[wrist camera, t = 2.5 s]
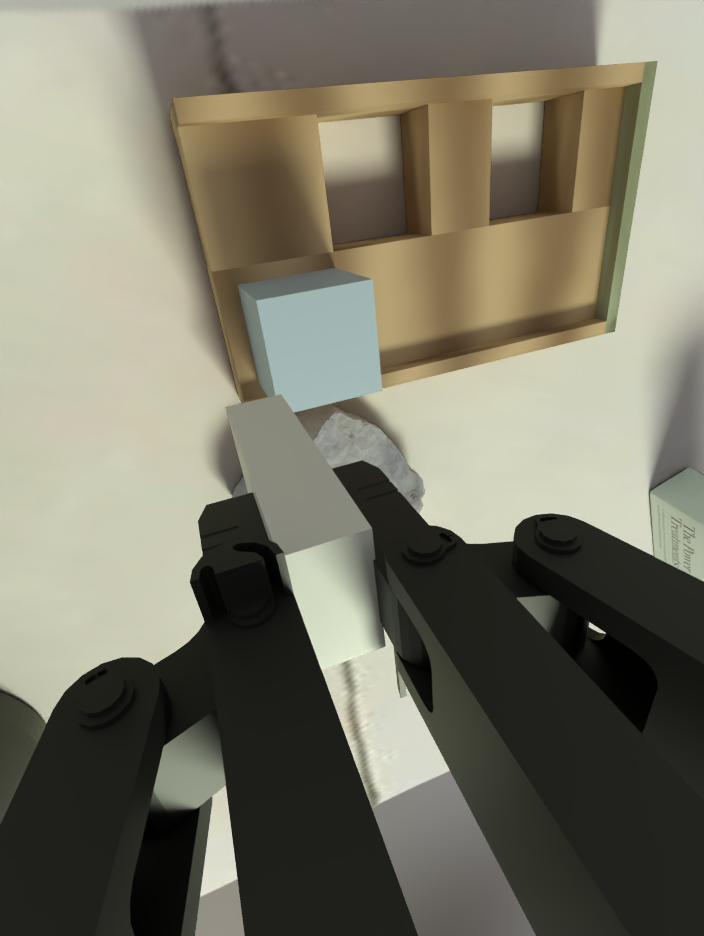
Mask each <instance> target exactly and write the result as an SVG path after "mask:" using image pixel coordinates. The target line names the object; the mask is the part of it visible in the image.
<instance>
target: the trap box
mask: <svg viewBox="0 0 704 936" xmlns="http://www.w3.org/2000/svg"><path fill="white" fill-rule="evenodd" d="M656 67H657V61H652V62H639V63H626V64H613V65H600V66H587V67H574V68H561V69H547V70H534V71H521V72H508V73H495V74H482V75H469V76H456V77H442V78H429V79H416V80H403V81H390V82H377V83H364V84H351V85H337V86H324V87H311V88H298V89H285V90H272V91H259V92H246V93H233V94H219V95H206V96H193V97H180V98H173V99H172V105H171V110H170V119H171V124H172V128H173V132H174V136H175V140H176V144H177V148H178V152H179V156H180V160H181V164H182V168H183V172H184V176H185V180H186V185H187V189H188V193H189V197H190V201H191V205H192V209H193V213H194V217H195V221H196V225H197V229H198V233H199V237H200V241H201V246H202V250H203V254H204V258H205V262H206V266H207V270H208V274H209V278H210V282H211V286H212V290H213V294H214V298H215V302H216V307H217V311H218V315H219V319H220V323H221V327H222V331H223V335H224V339H225V343H226V347H227V351H228V355H229V359H230V363H231V368H232V372H233V376H234V380H235V384H236V388H237V392H238V396H239V398H240V401H241V403H245V402H250V401H254V400H258V399H263V398H267V395H266V393H265V392H264V390H263V389H262V387H261V385H260V384H259V381H258V376H257V371H256V367H255V362H254V358H253V353H252V349H251V344H250V340H249V335H248V331H247V326H246V321H245V317H244V312H243V308H242V303H241V299H240V294H239V290H238V285H239V284H245V283H251V282H257V281H262V280H268V279H274V278H279V277H285V276H291V275H297V274H302V273H308V272H314V271H320V270H325V269H331V268H338V269H341V270H344V271H347V272H351V273H354V274H357V275H361V276H364V277H367V278H370V279H373V288H374V299H375V311H376V323H377V334H378V346H379V357H380V369H381V380H382V388H386V387H390V386H394V385H398V384H402V383H406V382H411V381H415V380H419V379H423V378H427V377H431V376H435V375H439V374H443V373H447V372H451V371H455V370H459V369H463V368H468V367H472V366H476V365H480V364H484V363H488V362H492V361H496V360H500V359H504V358H508V357H512V356H516V355H520V354H525V353H529V352H533V351H537V350H541V349H545V348H549V347H553V346H557V345H561V344H565V343H569V342H573V341H578V340H582V339H586V338H590V337H594V336H598V335H602V334H606V333H610V332H614V331H615V326H616V320H617V314H618V307H619V301H620V295H621V288H622V282H623V276H624V269H625V263H626V257H627V250H628V244H629V238H630V231H631V225H632V219H633V212H634V206H635V200H636V193H637V187H638V181H639V174H640V168H641V162H642V156H643V149H644V143H645V137H646V130H647V124H648V118H649V111H650V105H651V99H652V92H653V86H654V80H655V73H656ZM540 101H545V111H544V125H543V139H542V154H541V168H540V182H539V196H538V211H537V212H535V213H529V214H523V215H517V216H511V217H505V218H498V219H492V220H489V211H490V172H491V134H492V106H498V105H509V104H519V103H530V102H540ZM394 115H401V130H402V149H403V169H404V189H405V208H406V228H407V233H406V234H400V235H393V236H387V237H381V238H375V239H369V240H363V241H356V242H350V243H344V244H338V245H332V237H331V229H330V220H329V212H328V204H327V196H326V188H325V179H324V171H323V163H322V155H321V147H320V138H319V130H318V123H320V122H331V121H341V120H352V119H362V118H373V117H383V116H394Z"/></svg>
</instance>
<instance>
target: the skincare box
mask: <svg viewBox="0 0 704 936" xmlns="http://www.w3.org/2000/svg"><path fill="white" fill-rule="evenodd" d="M650 501H651V516H652V530H653V544H654V557H656V558H658V559H660V560H662V561H664V562H666V563H668V564H670V565H672V566H674V567H676V568H678V569H680V570H682V571H684V572H686V573H688V574H690V575H692V576H694V577H696V578H698V579H700V580H702V581H704V474H702V473H700V472H698V471H697V470H695V469H693V468H691V467H688V468H687V469H685V470H684V471H682V472H681V473H679V474H677V475H676V476H674V477H672V478H671V479H669V480H667V481H666V482H664V483H662V484H661V485H659V486H658V487H656V488H655V489H653V490H652V491H651V492H650Z"/></svg>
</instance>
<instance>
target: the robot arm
mask: <svg viewBox="0 0 704 936" xmlns="http://www.w3.org/2000/svg"><path fill="white" fill-rule="evenodd" d="M226 411H227V415H228V419H229V422H230V426H231V430H232V434H233V438H234V441H235V445H236V449H237V453H238V457H239V460H240V464H241V468H242V472H243V476H244V479H245V483H246V487H247V491H248V494H245V495H241V496H237V497H234V498H230V499H227V500H223V501H219V502H216V503H212V504H209V505H206V507H205V509H204V511H203V513H202V515H201V517H200V518H199V520H198V524H199V531H200V538H201V546H202V551H203V557H201V559H200V560H199V561H198V563H197V564H196V565H195V567H194V568H193V569H192V574H191V579H190V584H191V587H192V589H193V592H194V594H195V597H196V600H197V602H198V605H199V608H200V610H201V613H202V616H203V618H204V621H205V622H204V624H203V625H202V627H201V629H200V630H199V632H198V633H197V634H196V635H195V636H194V637H193V638H192V639H191V640H190V641H189V642H188V643H187V644H185V645H184V646H183V647H181V648H180V649H178V650H177V651H176V652H174V653H172V654H171V655H169V656H168V657H166V658H164V659H163V660H161V661H160V662H158V663H156V664H155V665H153V664H152V663H150V662H148V661H146V660H144V659H142V658H119V659H116V660H112V661H109V662H106V663H103V664H101V665H99V666H97V667H96V668H94V669H92V670H91V671H89V672H87V673H86V674H84V675H82V676H81V677H80V678H79V679H78V680H77V681H76V682H75V683H74V684H73V685H72V686H70V687H69V688H68V689H67V690H66V691H65V693H64V694H63V696H62V697H61V699H60V700H59V702H58V703H57V705H56V706H55V708H54V709H53V711H52V713H51V716H50V718H49V720H48V722H47V724H45V723H44V721H43V720H42V719H41V717H40V716H39V715H38V714H37V713H36V712H35V711H33V710H32V709H31V708H30V707H28V706H27V705H25V704H24V703H22V702H20V701H19V700H17V699H15V698H13V697H11V696H8V695H6V694H3V693H0V936H195V929H196V921H197V914H198V906H199V899H200V891H201V883H202V876H203V868H204V860H205V853H206V845H207V837H208V830H209V822H210V814H211V807H212V796H213V795H214V794H215V793H217V792H218V791H219V790H220V789H221V788H223V787H224V786H225V785H226V789H227V797H228V805H229V813H230V821H231V829H232V837H233V845H234V853H235V861H236V869H237V877H238V885H239V893H240V900H241V909H242V917H243V925H244V933H245V936H418V935H417V932H416V929H415V926H414V923H413V921H412V918H411V915H410V912H409V910H408V907H407V904H406V902H405V899H404V896H403V893H402V890H401V888H400V885H399V882H398V879H397V877H396V874H395V871H394V868H393V866H392V863H391V860H390V857H389V855H388V852H387V849H386V847H385V844H384V841H383V838H382V835H381V833H380V830H379V827H378V824H377V822H376V819H375V817H374V813H373V811H372V808H371V805H370V802H369V800H368V797H367V794H366V791H365V789H364V786H363V783H362V780H361V778H360V775H359V772H358V769H357V767H356V764H355V761H354V758H353V755H352V753H351V750H350V747H349V744H348V742H347V739H346V736H345V733H344V731H343V728H342V725H341V722H340V720H339V717H338V714H337V711H336V709H335V706H334V703H333V700H332V698H331V695H330V692H329V689H328V687H327V684H326V681H325V678H324V676H323V673H322V670H324V669H327V668H329V667H332V666H335V665H337V664H340V663H342V662H345V661H348V660H350V659H353V658H356V657H358V656H361V655H363V654H366V653H369V652H371V651H374V650H377V649H379V648H382V647H385V638H384V629H385V631H386V633H387V635H388V636H389V638H390V640H391V642H392V644H393V646H394V654H395V664H396V674H397V684H398V689H399V693H400V697H401V698H403V697H405V696H406V687H407V689H408V691H409V693H410V694H411V696H412V698H413V700H414V702H415V704H416V706H417V708H418V710H419V712H420V714H421V716H422V718H423V719H424V721H425V723H426V725H427V727H428V729H429V731H430V733H431V735H432V737H433V739H434V741H435V742H436V744H437V746H438V748H439V750H440V752H441V754H442V756H443V758H444V760H445V762H446V764H447V765H448V767H449V769H450V771H451V773H452V775H453V777H454V779H455V781H456V783H457V785H458V787H459V789H460V790H461V792H462V794H463V796H464V798H465V800H466V802H467V804H468V806H469V807H470V810H471V811H472V813H473V815H474V817H475V819H476V821H477V823H478V825H479V827H480V829H481V831H482V833H483V834H484V836H485V838H486V840H487V842H488V844H489V846H490V848H491V850H492V852H493V854H494V856H495V858H496V860H497V861H498V863H499V865H500V867H501V869H502V871H503V873H504V875H505V877H506V879H507V881H508V882H509V884H510V886H511V888H512V890H513V892H514V894H515V896H516V898H517V900H518V902H519V904H520V906H521V907H522V909H523V911H524V913H525V915H526V917H527V919H528V921H529V923H530V925H531V927H532V928H533V931H534V932H535V934H536V936H704V581H702V580H700V579H698V578H696V577H694V576H692V575H690V574H688V573H686V572H684V571H682V570H680V569H678V568H676V567H674V566H672V565H670V564H668V563H666V562H664V561H662V560H660V559H658V558H656V557H654V556H652V555H650V554H648V553H646V552H644V551H642V550H640V549H638V548H636V547H634V546H632V545H630V544H628V543H626V542H624V541H622V540H620V539H618V538H616V537H614V536H612V535H610V534H608V533H606V532H604V531H602V530H600V529H598V528H596V527H594V526H592V525H590V524H588V523H586V522H584V521H581V520H578V519H576V518H573V517H570V516H566V515H559V514H541V515H534V516H532V517H529V518H526V519H524V520H523V521H522V522H521V523H520V524H518V525H517V526H516V529H515V533H514V541H512V542H500V543H488V544H466V543H465V542H464V541H463V540H462V538H460V537H459V536H458V535H456V534H455V533H453V532H452V531H451V530H448V529H445V528H441V527H438V526H429V525H428V524H427V523H426V521H425V520H424V519H423V518H422V517H421V516H420V514H419V513H418V512H417V511H416V510H415V509H414V508H413V506H412V505H411V504H410V503H409V502H408V501H407V499H406V498H405V497H404V496H403V495H402V494H401V492H398V489H397V488H396V487H395V486H394V484H393V483H392V482H390V480H389V479H388V477H387V476H386V475H385V474H384V473H383V472H382V470H381V469H380V468H378V467H376V466H374V465H372V464H369V463H367V462H365V461H363V460H361V461H358V462H354V463H350V464H347V465H343V466H339V467H336V468H331V467H330V465H329V464H328V463H327V461H326V460H325V458H324V457H323V455H322V454H321V452H320V451H319V449H318V448H317V446H316V445H315V443H314V442H313V440H312V439H311V437H310V436H309V434H308V433H307V432H306V430H305V429H304V427H303V426H302V424H301V423H300V421H299V420H298V418H297V417H296V415H295V414H294V412H293V411H292V409H291V408H290V406H289V405H288V403H287V402H286V401H285V399H284V398H283V396H282V395H281V394H280V395H276V396H271V397H267V398H263V399H258V400H254V401H250V402H245V403H241V404H237V405H233V406H228V407H226ZM589 622H590V623H592V624H593V625H595V626H597V627H598V628H600V629H601V630H603V631H604V632H606V634H603V633H598V632H597V631H595V630H593V629H591V628H589V627H588V626H589ZM383 627H384V629H383Z"/></svg>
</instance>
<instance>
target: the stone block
mask: <svg viewBox="0 0 704 936" xmlns="http://www.w3.org/2000/svg"><path fill="white" fill-rule="evenodd" d="M294 414H295V415H296V417H297V418H298V420H299V421H300V423H301V424H302V426H303V427H304V429H305V430H306V432H307V433H308V434H309V436H310V437H311V439H312V440H313V442H314V443H315V445H316V446H317V448H318V449H319V451H320V452H321V454H322V455H323V457H324V458H325V460H326V461H327V463H328V464H329V465H330V467H331V468H336V467H339V466H343V465H347V464H350V463H354V462H358V461H361V460H363V461H365V462H367V463H369V464H372V465H374V466H376V467H378V468H380V469H381V470H382V472H383V473H384V474H385V475H386V476H387V477H388V479H389V480H390V482H392V483H393V484H394V486H395V487H396V488H397V489H398V492H401V494H402V495H403V496H404V497H405V498H406V499H407V501H408V502H409V503H410V504H411V505H412V506H413V508H414V509H415V510H416V511H417V512H418V513H419V512H420V511H421V509H422V507H423V503H422V500H421V498H422V497H423V495H424V494H425V489H424V484H423V480H422V478H421V477H420V476H419V475H418V474H417V473H416V472H415V471H414V470H413V469H411V468H410V466H409V465H408V464H407V462H406V460H405V458H404V457H403V455H402V453H401V452H400V451H399V450H398V448H397V447H396V446H395V444H394V443H393V442H392V441H391V440H390V439H389V438H388V437H387V436H386V435H385V433H384V432H383V431H382V430H381V429H380V428H379V427H378V426H376V425H374V424H372V423H369V422H367V421H366V420H365V419H363V418H361V417H359V416H358V415H356V414H352V413H349V412H346V411H343V410H341V409H339V408H338V407H336V406H335V405H334V404H327V405H323V406H319V407H314V408H310V409H306V410H302V411H298V412H295V413H294ZM245 494H248V491H247V487H246V483H245V479H244V476H243V477H242V479H241V480H240V482H239V483H238V485H237V486H236V487H235V490H234V492H233V496H232V498H234V497H237V496H241V495H245Z"/></svg>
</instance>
